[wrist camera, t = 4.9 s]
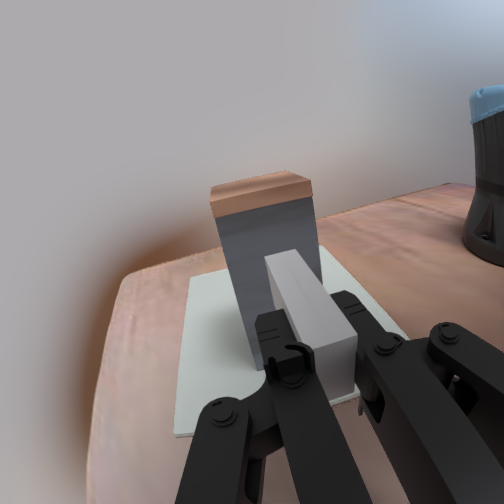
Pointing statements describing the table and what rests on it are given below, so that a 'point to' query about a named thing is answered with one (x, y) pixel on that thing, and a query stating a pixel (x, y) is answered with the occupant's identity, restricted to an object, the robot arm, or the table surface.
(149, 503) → the table surface
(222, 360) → the sage mat
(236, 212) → the slate block
